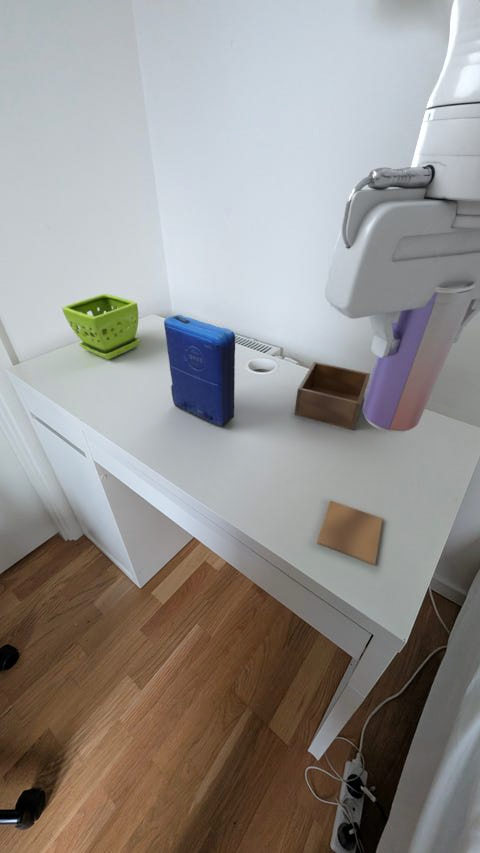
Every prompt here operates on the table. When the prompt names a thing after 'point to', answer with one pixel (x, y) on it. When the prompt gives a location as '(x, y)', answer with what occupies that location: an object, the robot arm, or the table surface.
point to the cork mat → (351, 532)
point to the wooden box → (331, 395)
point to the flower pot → (104, 324)
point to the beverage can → (415, 360)
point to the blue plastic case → (201, 368)
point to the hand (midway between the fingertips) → (414, 347)
